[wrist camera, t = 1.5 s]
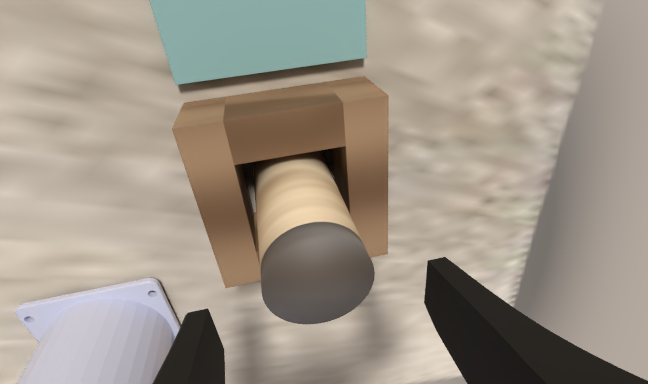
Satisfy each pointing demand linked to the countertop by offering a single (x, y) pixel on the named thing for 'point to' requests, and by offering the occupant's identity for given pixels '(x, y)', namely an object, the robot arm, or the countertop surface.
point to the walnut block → (278, 141)
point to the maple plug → (307, 241)
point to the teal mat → (257, 35)
